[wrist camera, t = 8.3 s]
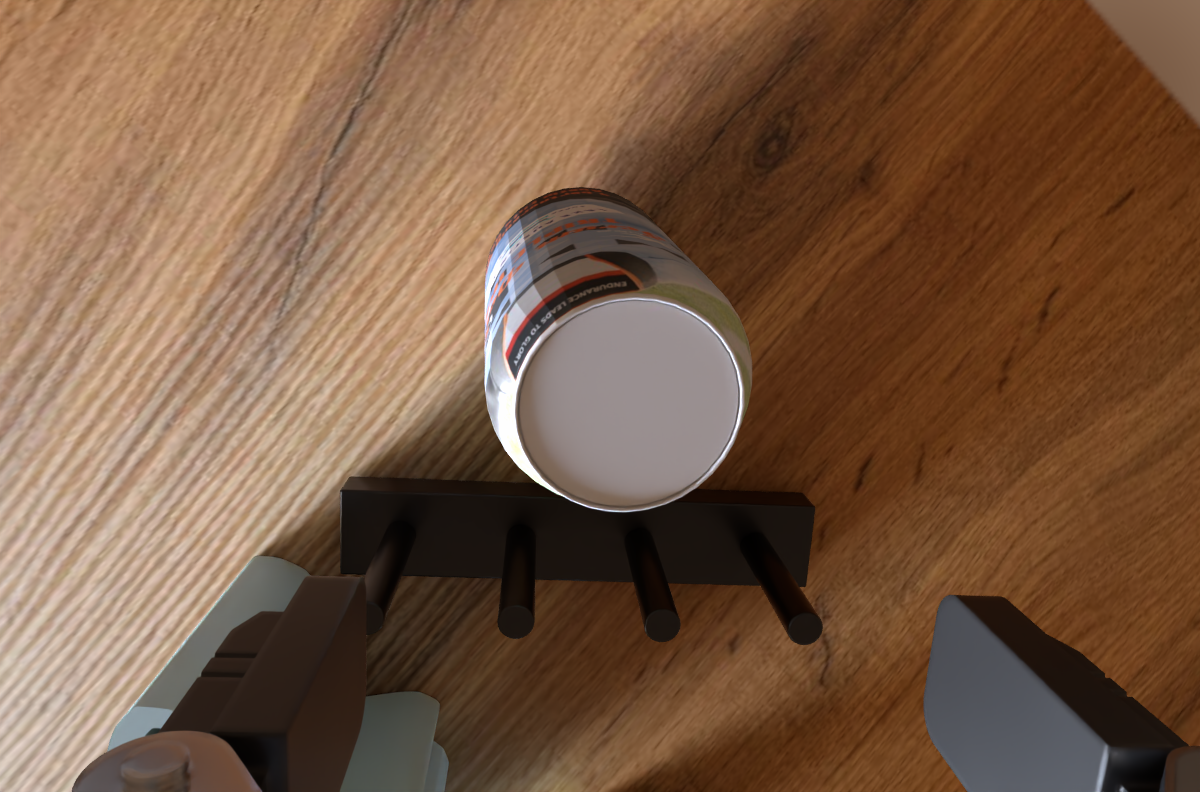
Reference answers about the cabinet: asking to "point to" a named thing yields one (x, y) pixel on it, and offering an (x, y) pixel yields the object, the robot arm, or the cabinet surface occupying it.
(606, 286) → the beverage can
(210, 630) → the squiggly pen holder
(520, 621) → the rack
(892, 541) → the cabinet surface
